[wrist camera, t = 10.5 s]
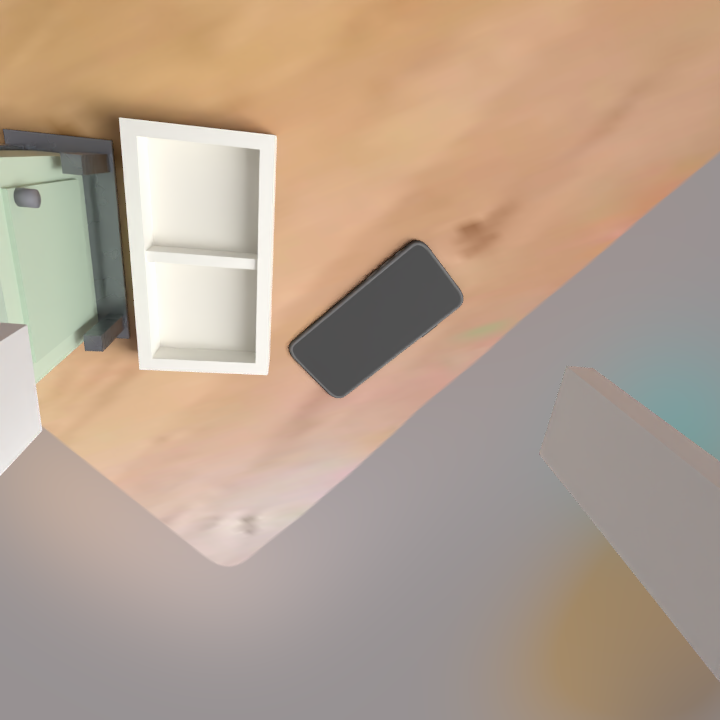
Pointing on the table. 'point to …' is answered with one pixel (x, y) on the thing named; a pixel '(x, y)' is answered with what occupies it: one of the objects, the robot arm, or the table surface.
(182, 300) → the white divided tray
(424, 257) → the smartphone
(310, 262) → the table surface
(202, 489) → the table surface
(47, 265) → the door panel
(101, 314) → the grey four-post stand
